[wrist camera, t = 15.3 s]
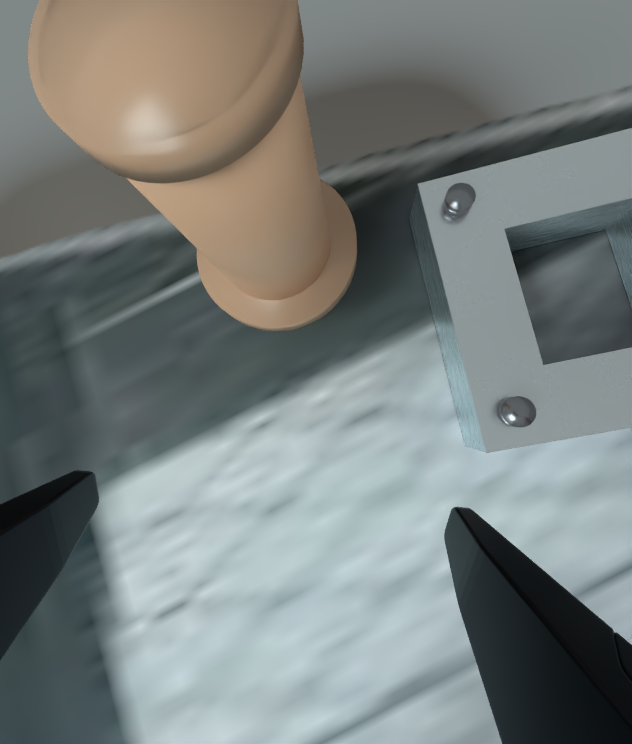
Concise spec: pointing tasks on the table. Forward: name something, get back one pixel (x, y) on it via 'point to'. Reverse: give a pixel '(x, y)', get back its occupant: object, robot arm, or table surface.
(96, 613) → the table surface
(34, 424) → the table surface
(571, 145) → the square mounting plate
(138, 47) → the knob
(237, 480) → the table surface
